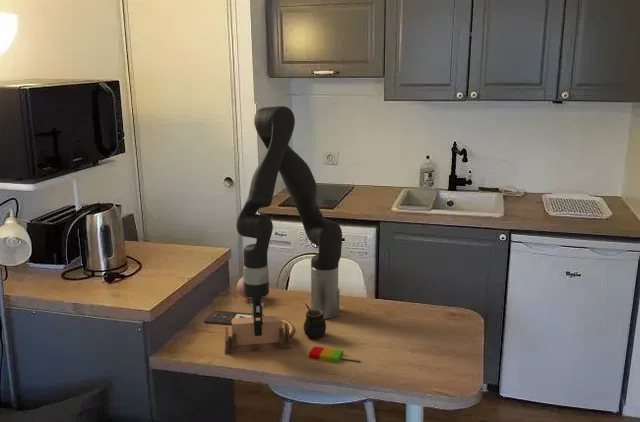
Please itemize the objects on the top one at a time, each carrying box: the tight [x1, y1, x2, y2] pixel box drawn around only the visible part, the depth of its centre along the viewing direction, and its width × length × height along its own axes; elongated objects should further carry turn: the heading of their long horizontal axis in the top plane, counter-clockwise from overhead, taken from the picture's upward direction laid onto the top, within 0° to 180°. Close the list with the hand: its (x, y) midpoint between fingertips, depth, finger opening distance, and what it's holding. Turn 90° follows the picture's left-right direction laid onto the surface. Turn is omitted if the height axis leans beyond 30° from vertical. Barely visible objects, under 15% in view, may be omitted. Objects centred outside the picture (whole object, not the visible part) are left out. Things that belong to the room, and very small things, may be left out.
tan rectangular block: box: [231, 315, 283, 345], centre depth 181 cm, size 15×4×7 cm, turn 99°
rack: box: [224, 322, 293, 355], centre depth 181 cm, size 20×9×6 cm, turn 99°
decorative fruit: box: [236, 276, 250, 300], centre depth 214 cm, size 9×8×10 cm
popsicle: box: [308, 346, 361, 364], centre depth 174 cm, size 6×15×2 cm, turn 72°
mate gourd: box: [303, 303, 327, 340], centre depth 187 cm, size 7×8×10 cm
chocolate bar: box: [203, 309, 265, 326], centre depth 199 cm, size 9×1×18 cm
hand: (257, 329), depth 181 cm, fingers open, 8 cm apart
